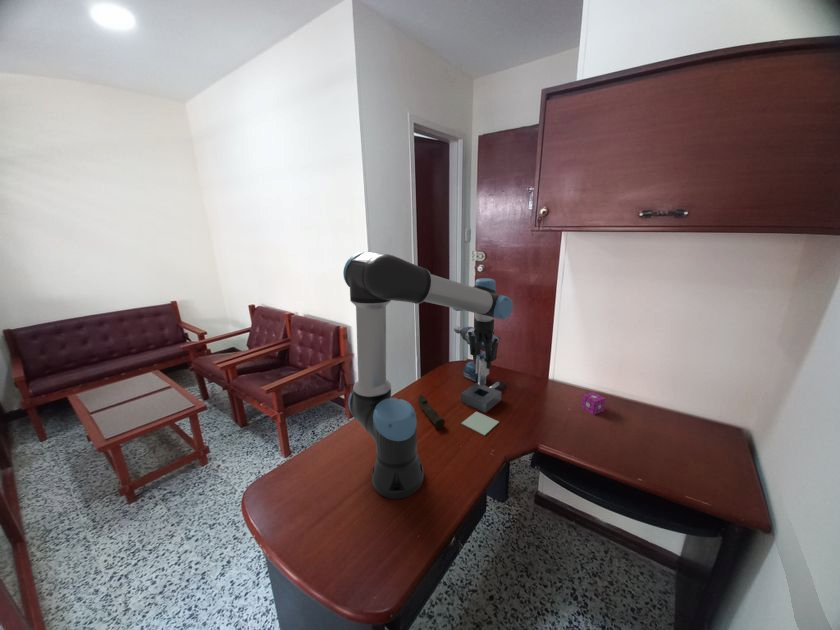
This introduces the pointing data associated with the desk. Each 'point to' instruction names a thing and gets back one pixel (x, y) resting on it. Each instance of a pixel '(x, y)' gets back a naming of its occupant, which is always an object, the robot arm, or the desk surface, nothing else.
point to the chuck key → (481, 368)
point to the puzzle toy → (593, 403)
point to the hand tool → (431, 412)
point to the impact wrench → (470, 367)
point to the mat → (480, 423)
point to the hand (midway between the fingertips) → (482, 373)
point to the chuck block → (481, 396)
